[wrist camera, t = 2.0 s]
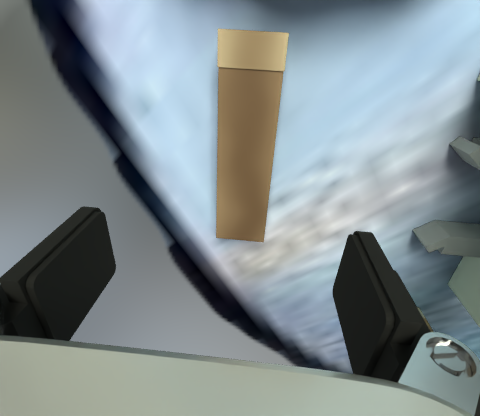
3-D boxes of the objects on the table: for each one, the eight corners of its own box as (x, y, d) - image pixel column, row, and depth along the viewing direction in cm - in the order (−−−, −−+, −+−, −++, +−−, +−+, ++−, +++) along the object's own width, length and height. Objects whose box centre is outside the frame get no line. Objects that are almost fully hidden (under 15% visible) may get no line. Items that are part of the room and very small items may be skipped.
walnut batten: (221, 216, 27) (215, 238, 24) (226, 31, 20) (217, 28, 17) (264, 220, 27) (264, 242, 24) (285, 34, 20) (288, 32, 16)
